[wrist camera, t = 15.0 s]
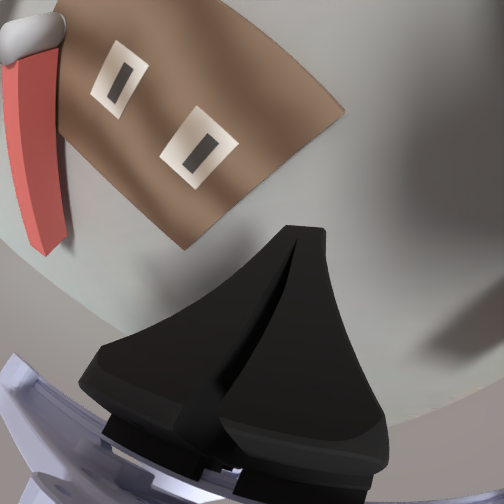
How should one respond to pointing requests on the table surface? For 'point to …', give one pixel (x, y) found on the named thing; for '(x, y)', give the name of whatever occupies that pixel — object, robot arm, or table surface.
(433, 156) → the table surface
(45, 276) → the table surface
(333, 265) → the table surface
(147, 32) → the label board
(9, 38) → the swing arm
